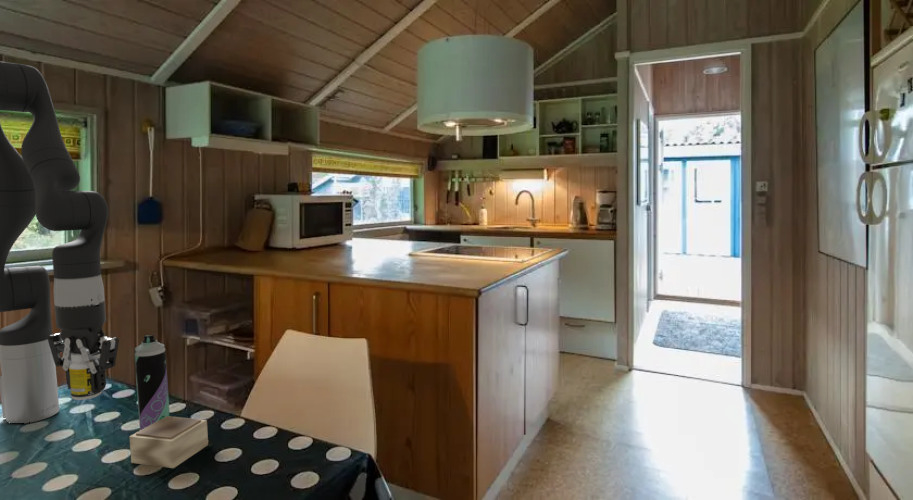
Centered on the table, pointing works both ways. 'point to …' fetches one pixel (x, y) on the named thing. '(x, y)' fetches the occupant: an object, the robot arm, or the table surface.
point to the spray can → (151, 381)
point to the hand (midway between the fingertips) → (86, 389)
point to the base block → (168, 441)
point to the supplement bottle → (81, 378)
